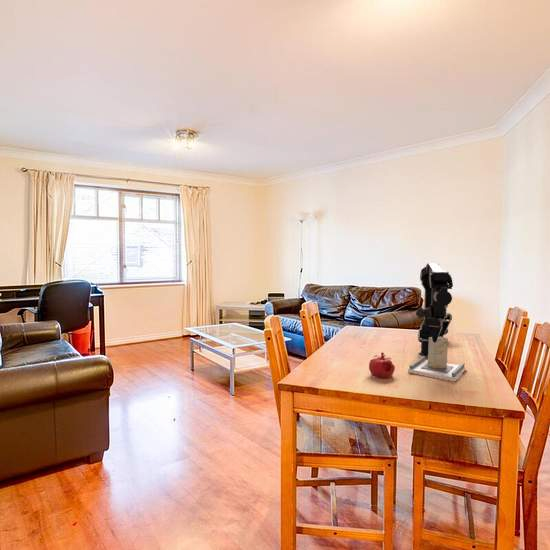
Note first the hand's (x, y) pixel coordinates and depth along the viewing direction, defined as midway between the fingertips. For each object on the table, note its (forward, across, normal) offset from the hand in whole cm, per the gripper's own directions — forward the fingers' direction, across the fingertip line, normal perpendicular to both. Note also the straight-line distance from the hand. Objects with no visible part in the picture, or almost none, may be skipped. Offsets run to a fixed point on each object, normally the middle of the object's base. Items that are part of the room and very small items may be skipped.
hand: (437, 340), depth 160 cm
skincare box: (+11, 0, 0) cm, 11 cm away
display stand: (+13, 0, 0) cm, 13 cm away
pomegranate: (+13, +19, -16) cm, 28 cm away
